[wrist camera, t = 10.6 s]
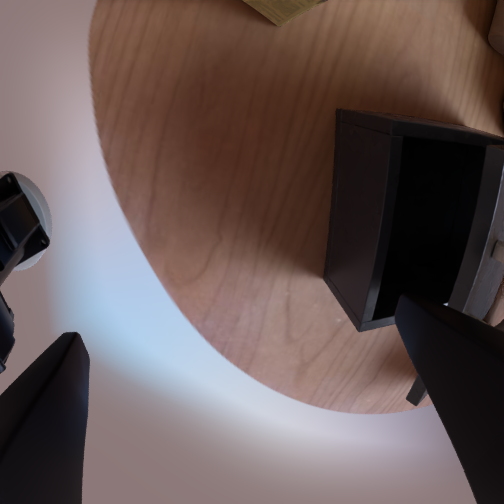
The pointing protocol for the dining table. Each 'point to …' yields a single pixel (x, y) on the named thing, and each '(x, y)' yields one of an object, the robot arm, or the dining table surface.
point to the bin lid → (479, 252)
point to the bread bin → (399, 210)
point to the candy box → (282, 8)
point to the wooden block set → (497, 29)
